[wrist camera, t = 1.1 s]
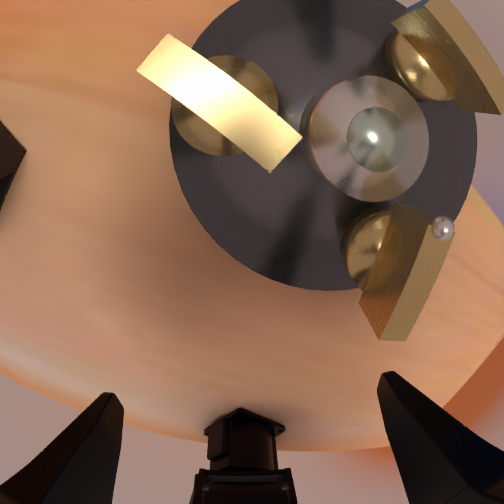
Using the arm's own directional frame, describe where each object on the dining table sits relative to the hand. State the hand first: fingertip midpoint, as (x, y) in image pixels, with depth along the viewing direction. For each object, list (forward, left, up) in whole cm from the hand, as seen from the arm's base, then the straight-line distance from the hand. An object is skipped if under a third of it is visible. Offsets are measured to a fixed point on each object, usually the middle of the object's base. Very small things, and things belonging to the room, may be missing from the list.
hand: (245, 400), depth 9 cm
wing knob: (-6, -6, -10) cm, 13 cm away
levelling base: (0, -10, -12) cm, 15 cm away
